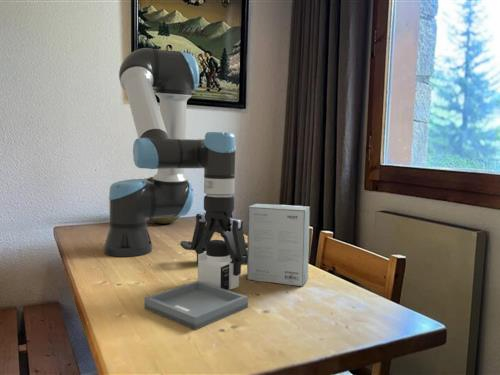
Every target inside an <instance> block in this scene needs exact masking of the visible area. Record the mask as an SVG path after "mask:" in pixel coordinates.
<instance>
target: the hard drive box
mask: <svg viewBox="0 0 500 375" xmlns="http://www.w3.org/2000/svg"><path fill="white" fill-rule="evenodd" d="M310 208H311V206H304V205H289V204H269V203H254V204H252V205H249V206H248V207H247V243H248V248H246V249H247V254H248V259H247V264H246V266H247V268H246V271H247V273H246V279H247V280H249V281H256V282H257V281H258V282H263V283H264V282H265V283H273V284H274V283H275V284H282V285H288V286H298V287H303V286H304V285H305V284H306V282H307V280H308V279H309V249H310V245H309V244H310V217H311V216H310V215H311V213H310Z"/></svg>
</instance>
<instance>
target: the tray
mask: <svg viewBox="0 0 500 375" xmlns="http://www.w3.org/2000/svg"><path fill="white" fill-rule="evenodd" d="M248 301H249V296H247V295H245V294H241V293H238V292H236V291H232V290H226V289H222V288H219V287H216V286H213V285H210V284H207V283H203V282H200V281H198V280H196V281H193V282H190V283H186V284H183V285H179V286H177V287H174V288H171V289H167V290H164V291H162V292H159V293H155V294H153V295H152V294H151V295H148V296H146V297H145V296H144V309H145V310H147V311H149V312H152V313H153V314H156V315H158V316H161V317H163V318H166V319H167V320H170V321H173V322H176V323H178V324H180V325H182V326H184V327H188V328H189V329H193V330H195V331H196V330H198V329H201V328H203V327H205V326H208V325H210V324H213V323H214V322H217V321H219V320H221V319H224V318H226V317H228V316H231V315H233V314H236V313H238V312H241V311H242V310H245V309H247V308H248V307H249V302H248Z"/></svg>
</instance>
